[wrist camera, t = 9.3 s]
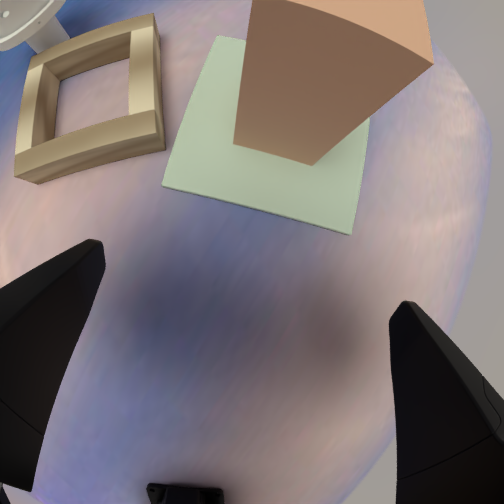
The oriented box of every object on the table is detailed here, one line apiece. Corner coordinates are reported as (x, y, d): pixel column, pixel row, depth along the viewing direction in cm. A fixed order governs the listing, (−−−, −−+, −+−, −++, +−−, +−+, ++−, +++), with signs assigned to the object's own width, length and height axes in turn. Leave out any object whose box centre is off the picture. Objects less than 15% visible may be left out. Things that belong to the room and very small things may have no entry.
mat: (347, 235, 18) (351, 234, 18) (163, 187, 17) (161, 185, 16) (369, 85, 18) (373, 82, 18) (217, 40, 17) (217, 35, 16)
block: (311, 166, 17) (433, 64, 5) (233, 144, 17) (253, -8, 5) (324, 101, 17) (417, -19, 5) (252, 79, 17) (288, -69, 5)
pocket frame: (165, 149, 17) (155, 132, 14) (37, 184, 16) (14, 176, 13) (160, 37, 17) (153, 13, 14) (47, 73, 16) (31, 56, 13)
